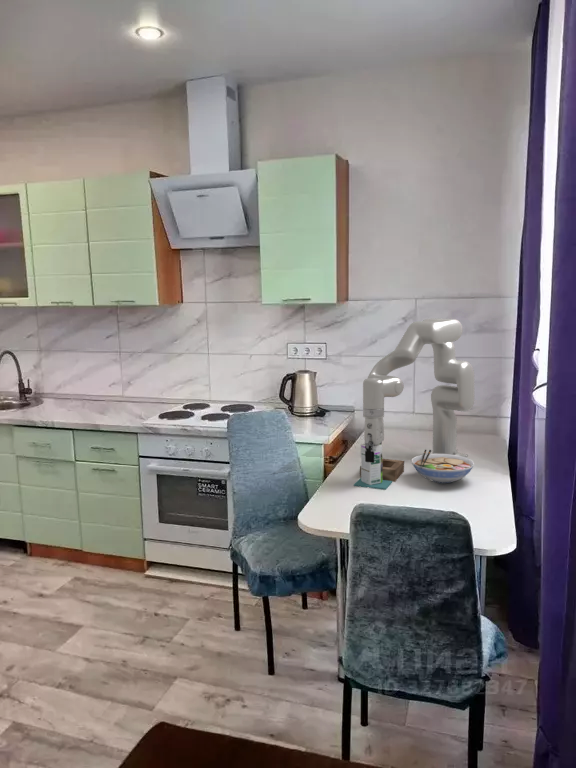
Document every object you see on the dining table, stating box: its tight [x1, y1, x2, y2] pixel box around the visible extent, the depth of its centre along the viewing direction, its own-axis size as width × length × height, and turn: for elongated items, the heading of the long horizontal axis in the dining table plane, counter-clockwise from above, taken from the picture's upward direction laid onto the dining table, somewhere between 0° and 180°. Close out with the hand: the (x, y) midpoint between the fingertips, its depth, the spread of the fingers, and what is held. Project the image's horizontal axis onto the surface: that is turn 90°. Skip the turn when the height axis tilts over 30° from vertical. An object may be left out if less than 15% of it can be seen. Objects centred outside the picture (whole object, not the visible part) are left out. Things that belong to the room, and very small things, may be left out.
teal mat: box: [353, 477, 393, 491], centre depth 220 cm, size 12×9×1 cm
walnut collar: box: [359, 458, 405, 483], centre depth 231 cm, size 14×14×4 cm
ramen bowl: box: [411, 449, 475, 484], centre depth 223 cm, size 25×23×8 cm
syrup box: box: [360, 443, 383, 485], centre depth 220 cm, size 6×6×14 cm
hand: (373, 458), depth 219 cm, fingers open, 9 cm apart
